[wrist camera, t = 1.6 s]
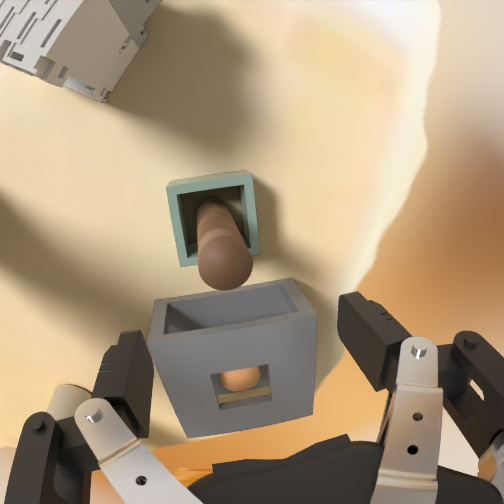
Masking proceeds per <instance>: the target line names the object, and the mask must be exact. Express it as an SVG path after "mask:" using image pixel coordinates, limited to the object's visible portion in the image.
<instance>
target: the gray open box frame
mask: <svg viewBox="0 0 504 504" xmlns="http://www.w3.org/2000/svg"><path fill="white" fill-rule="evenodd" d="M316 338H317V313H316V311H315V310H314V308H313V307H312V306H311V304H310V303H309V301H308V300H307V298H306V297H305V295H304V294H303V292H302V291H301V289H300V288H299V287H298V285H297V284H296V282H295V281H294V279H293V278H287V279H282V280H276V281H270V282H265V283H259V284H253V285H248V286H242V287H237V288H235V289H232V290H218V291H212V292H205V293H199V294H193V295H186V296H180V297H173V298H167V299H160V300H155V303H154V308H153V314H152V319H151V324H150V330H149V335H148V341H147V344H148V347H149V349H150V352H151V355H152V357H153V360H154V363H155V365H156V368H157V370H158V373H159V375H160V378H161V380H162V383H163V385H164V388H165V390H166V392H167V395H168V397H169V399H170V402H171V404H172V406H173V408H174V411H175V413H176V415H177V417H178V419H179V422H180V424H181V426H182V428H183V430H184V432H185V434H186V436H187V438H193V437H202V436H210V435H217V434H224V433H231V432H237V431H243V430H248V429H253V428H258V427H264V426H268V425H272V424H277V423H281V422H286V421H290V420H294V419H298V418H302V417H306V416H310V415H312V414H313V402H314V386H315V366H316ZM255 366H258V368H259V372H260V379H259V381H258V383H257V384H256V385H255V386H254V387H252V388H250V389H254V388H259V387H264V386H270V395H265V396H260V397H255V398H250V399H244V400H239V401H233V402H227V403H221V404H219V402H218V399H217V395H220V394H227V393H233V392H238V391H231V390H228V389H226V388H225V387H224V386H223V385H222V383H221V379H220V373H222V372H228V371H234V370H239V369H245V368H250V367H255ZM248 390H249V389H248Z"/></svg>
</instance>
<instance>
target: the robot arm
mask: <svg viewBox="0 0 504 504" xmlns="http://www.w3.org/2000/svg"><path fill="white" fill-rule="evenodd" d="M337 330H338V335H339V337H340V340H341V341H342V343H343V344H344V345H345V347H346V348H347V350H348V351H349V353H350V354H351V356H352V357H353V359H354V360H355V362H356V363H357V364H358V366H359V367H360V369H361V370H362V372H363V373H364V374H365V376H366V378H367V379H368V381H369V382H370V383H371V385H372V387H373V388H374V390H375V391H376V392H377V391H380V390H383V389H385V388H386V389H387V390H388V391H389V393H388V396H387V401H386V405H385V410H384V414H383V419H382V423H381V427H380V432H379V435H378V438H377V441H376V442H370V441H350V439H349V437H348V435H347V434H344V435H341V436H338V437H335V438H331V439H328V440H325V441H322V442H318V443H315V444H314V445H311V446H310V447H308V448H306V449H304V450H302V451H300V452H298V453H296V454H294V455H292V456H290V457H288V458H285V459H274V460H263V459H262V460H261V459H259V460H258V459H245V460H238V461H232V462H225V463H217V464H212V467H213V473H211V474H208V475H206V476H204V477H202V478H200V479H198V480H197V481H195V482H193V483H192V484H191V485H189V486H188V487H187V488H186V487H184V486H183V485H182V484H181V483H180V482H179V481H178V480H177V479H176V478H175V477H174V476H173V475H172V474H171V473H170V472H169V471H168V470H167V469H166V468H165V467H164V466H163V465H162V464H161V463H160V461H159V460H158V459H157V458H156V457H155V456H154V455H153V454H152V453H151V452H150V451H149V449H148V448H147V447H146V446H145V445H144V444H143V443H142V442H141V440H140V439H139V438H148V437H149V422H150V409H151V398H152V387H153V377H154V368H153V362H152V359H151V356H150V354H149V351H148V348H147V346H146V343H145V340H144V338H143V335H142V333H141V331H140V330H134V331H125V332H121V334H120V337H119V341H118V344H117V345H112V346H111V347H110V348H109V349H108V350H107V351H106V353H105V354H104V356H103V360H102V363H101V364H102V365H101V366H100V369H99V373H98V375H97V379H96V382H95V385H94V389H93V392H92V396H91V399H89V400H87V401H85V402H83V403H82V404H81V405H80V406H79V407H78V408H77V409H76V412H75V416H72V417H68V418H65V419H61V420H57V421H56V420H55V419H54V418H53V417H52V415H51V414H49V413H47V412H37V413H35V414H33V415H31V416H30V417H29V418H28V419H27V420H26V422H25V423H24V426H23V429H22V432H21V436H20V439H19V442H18V446H17V449H16V453H15V457H14V460H13V465H12V468H11V473H10V477H9V481H8V486H7V491H6V496H5V502H4V504H90V488H91V474H92V471H95V470H99V469H101V470H102V471H103V473H104V474H105V476H106V477H107V479H108V480H109V482H110V483H111V484H112V486H113V487H114V489H115V490H116V491H117V492H118V494H119V495H120V496H121V498H122V499H123V501H124V502H125V503H126V504H504V358H503V356H501V355H500V353H499V352H497V351H496V350H495V349H494V348H493V347H492V346H491V345H490V344H489V343H488V342H487V341H486V340H485V339H484V338H483V337H482V336H481V335H479V334H478V333H476V332H472V331H461V332H459V333H457V334H456V336H455V338H454V341H453V344H447V345H438V346H436V345H435V343H434V342H432V341H431V340H429V339H427V338H424V337H420V336H415V337H413V336H412V335H411V334H410V333H409V332H407V330H406V329H405V328H404V327H403V326H402V325H401V324H400V323H399V322H398V321H397V320H396V319H394V318H393V316H392V315H391V314H389V313H388V311H387V310H386V309H385V308H384V307H383V306H382V305H380V304H378V303H376V302H374V301H372V300H369V301H367V300H366V299H365V298H364V297H363V296H362V295H361V294H360V293H359V292H358V291H356V292H352V293H347V294H343V295H340V297H339V303H338V321H337ZM472 379H473V381H474V382H475V383H476V384H477V385H478V386H479V388H480V389H481V390H482V391H483V395H484V401H483V400H482V399H481V397H480V396H479V395H478V394H477V392H476V391H475V390H474V389H473V388H472V386H471V385H470V382H471V380H472ZM443 407H444V408H445V409H446V411H447V412H448V414H449V415H450V417H451V418H452V419H453V421H454V422H455V424H456V425H457V426H458V428H459V429H460V431H461V432H462V434H463V435H464V437H465V438H466V440H467V441H468V443H469V444H470V446H471V447H472V449H473V450H474V452H475V453H476V455H477V456H478V458H479V463H478V469H479V472H478V475H477V477H476V476H472V475H468V474H465V473H462V472H458V471H455V470H452V469H448V468H445V467H443V466H440V465H438V458H439V449H440V440H441V426H442V409H443Z"/></svg>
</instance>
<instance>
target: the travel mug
mask: <svg viewBox="0 0 504 504" xmlns="http://www.w3.org/2000/svg"><path fill="white" fill-rule="evenodd" d="M91 396H92V395H91V394H90V393H88V392H87V391H85V390H83V389H81V388H79V387H76V386H73V385H60V386H58V387H57V388H56V389H55V391H54V394H53V396H52V399H51V402H50V404H49V407H48V410H47V413H49V414H51V415H52V417H53V418H54V419H55V420H56V421H57V420H61V419H65V418H68V417H72V416H75V412H76V409H77V408H78V407H79V406H80V405H81V404H82V403H83V402H85V401H87V400H89V399H91Z"/></svg>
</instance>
